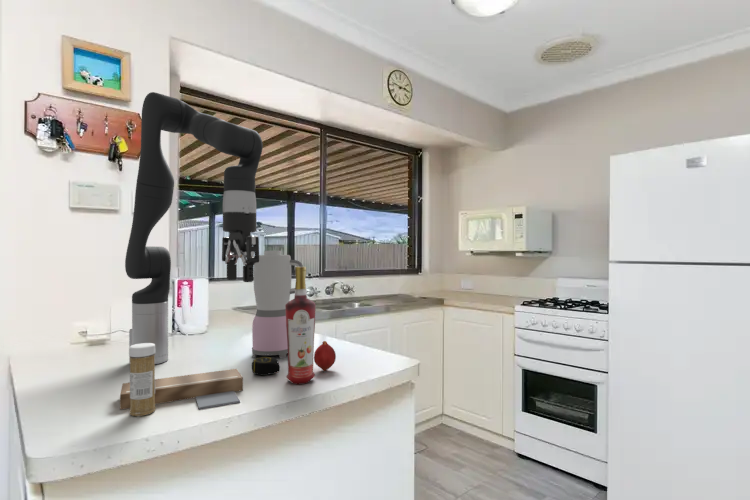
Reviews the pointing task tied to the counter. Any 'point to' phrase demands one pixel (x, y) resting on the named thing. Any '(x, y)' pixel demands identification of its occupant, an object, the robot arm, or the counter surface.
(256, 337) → the blender
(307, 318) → the liquor
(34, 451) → the counter surface
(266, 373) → the tape measure
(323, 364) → the onion
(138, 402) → the sprinkles bottle
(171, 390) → the walnut board
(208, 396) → the grey pad
